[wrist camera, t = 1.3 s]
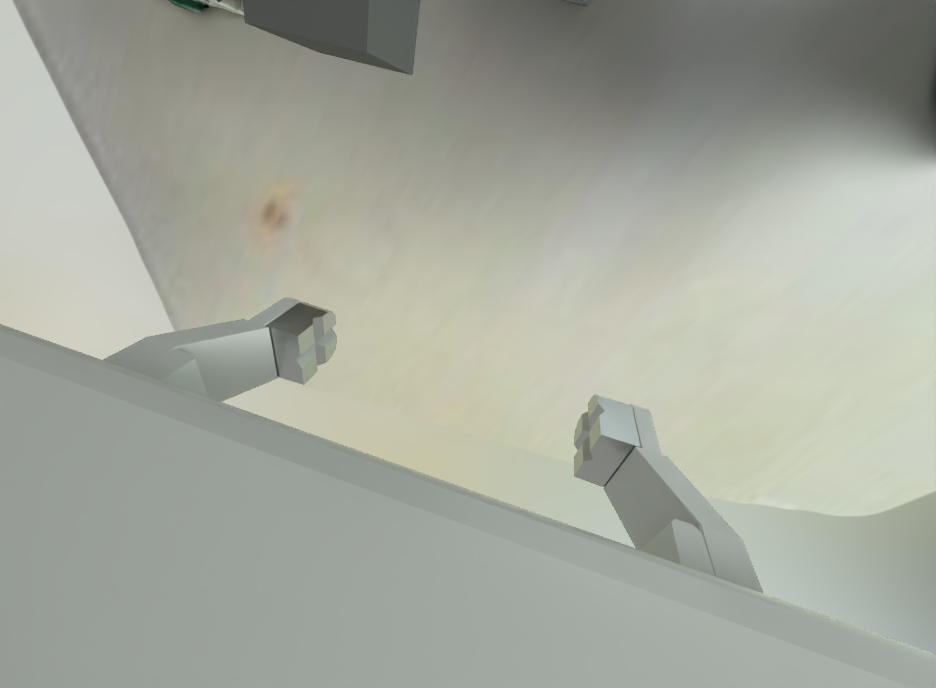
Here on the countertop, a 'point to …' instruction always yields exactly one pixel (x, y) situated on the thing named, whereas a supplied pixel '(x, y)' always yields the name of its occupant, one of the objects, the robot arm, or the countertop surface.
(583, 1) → the grey tall box
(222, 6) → the juice carton
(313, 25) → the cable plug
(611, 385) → the countertop surface
